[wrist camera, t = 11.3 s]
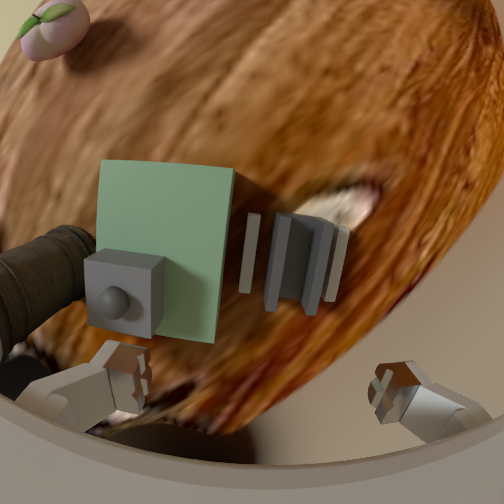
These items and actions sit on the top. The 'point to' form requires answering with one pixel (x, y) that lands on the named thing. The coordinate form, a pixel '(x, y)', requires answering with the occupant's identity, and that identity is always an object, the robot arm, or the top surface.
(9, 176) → the top surface
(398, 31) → the top surface
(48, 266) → the container
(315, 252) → the chute
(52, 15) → the decorative fruit
